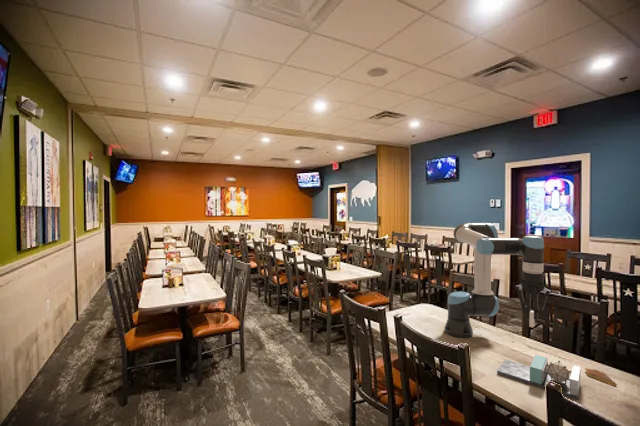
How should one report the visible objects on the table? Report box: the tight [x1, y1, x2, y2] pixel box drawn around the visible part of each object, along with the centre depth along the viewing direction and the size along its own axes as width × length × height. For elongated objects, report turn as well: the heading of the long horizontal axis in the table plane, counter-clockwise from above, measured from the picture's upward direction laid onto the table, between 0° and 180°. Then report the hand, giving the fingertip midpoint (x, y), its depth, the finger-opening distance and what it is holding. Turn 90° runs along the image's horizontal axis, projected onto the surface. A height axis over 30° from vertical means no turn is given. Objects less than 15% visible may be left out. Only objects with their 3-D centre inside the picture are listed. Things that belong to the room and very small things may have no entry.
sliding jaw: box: [529, 354, 549, 384], centre depth 133 cm, size 14×4×6 cm, turn 137°
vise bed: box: [496, 359, 581, 401], centre depth 133 cm, size 14×28×8 cm, turn 47°
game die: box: [545, 360, 572, 384], centre depth 129 cm, size 9×8×10 cm
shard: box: [584, 368, 618, 387], centre depth 134 cm, size 11×8×2 cm
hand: (532, 326), depth 134 cm, fingers closed
